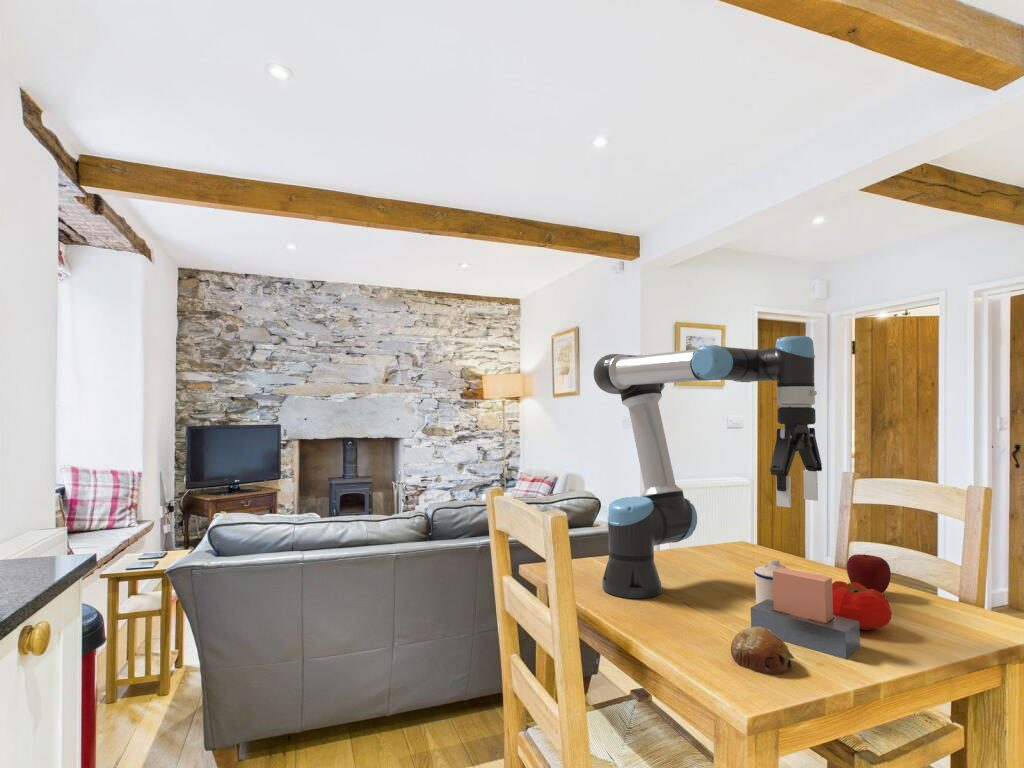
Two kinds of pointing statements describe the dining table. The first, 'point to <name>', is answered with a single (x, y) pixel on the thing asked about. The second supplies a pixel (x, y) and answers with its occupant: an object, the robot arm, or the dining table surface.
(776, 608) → the chamfered pink post
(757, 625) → the grey rectangular block
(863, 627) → the tomato
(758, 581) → the teacup with lid
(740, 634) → the bread roll
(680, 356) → the robot arm
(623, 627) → the dining table surface
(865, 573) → the apple
